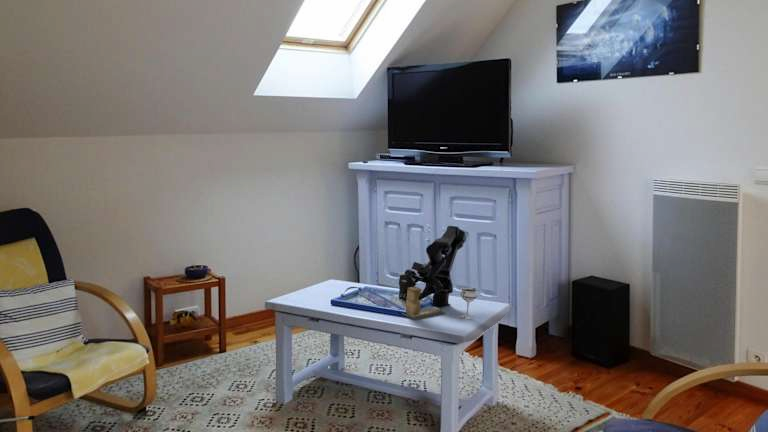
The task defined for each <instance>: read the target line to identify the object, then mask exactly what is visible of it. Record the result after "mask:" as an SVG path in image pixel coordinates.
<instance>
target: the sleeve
mask: <svg viewBox="0 0 768 432" xmlns="http://www.w3.org/2000/svg"><path fill="white" fill-rule="evenodd" d="M421 293H422V288H420V287H418V286H415V287H409V288H408V289H407V299H406V305H405V306H406V307H405V309H406V313H407V314H408V315H410V316H412V315H413V314H418V313H420V307H421V301H422V299H421V300H419V299H418V298H419V296H420V294H421Z"/></svg>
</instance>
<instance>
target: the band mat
mask: <svg viewBox="0 0 768 432" xmlns="http://www.w3.org/2000/svg"><path fill="white" fill-rule="evenodd" d="M425 306H426V305H425ZM401 315H403V316H404V317H406V318H409V319H410V320H414V321H416V320H422V319H426V318H430V317H436V316H440V315H446V312H445V311H444V309H442V308H439V309H438V308H435V307H433V306H431V305H428V306H426V307H424V308H422V309H421V310H420V313H418V314H413V315H412V316H410V315H408V314H404V313H402V314H401Z"/></svg>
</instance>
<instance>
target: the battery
mask: <svg viewBox="0 0 768 432" xmlns="http://www.w3.org/2000/svg"><path fill="white" fill-rule="evenodd" d="M404 273H405V272H402V273H401V274H400V275H399V277H398V278H399V279H398V287H399V291H398V292H399V293H398V298H399V299H402V300H407V293H406V294H404V293H403V292H404V288H405V285H406V281H407V279H406V277H405V274H404ZM414 287H416V285H415V286H414Z"/></svg>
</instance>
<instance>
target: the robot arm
mask: <svg viewBox="0 0 768 432" xmlns="http://www.w3.org/2000/svg"><path fill="white" fill-rule="evenodd" d="M466 241H467V234H466V232H465V231H464V230H462V229H461V228H460V227H459V226H456V225H448V226H447V227H446V230H445V232H443V234H442V236H441V237H440V238H436V239H434V241H432V243H431V244H429V245H427V247H426V249H425V251H426V254H427V257H428V262H427V263H423V264H421V263H419V262H416V261H414V262H413V263H412V266H411V268H410V269H409V268H408V269H406V270H405V271H404V272H403V273H404V274H405V277H406V279H407V281H406V285H405V288H404V292H403V293H404V294H406V293H407V289H408V288H409V287H414V286H415V287H416V286H417V283H418V282H421V283H424V284H425V287H424V288H423V289H422V290H421V294H420V296H419V298H418V299H419V300H421V301H422V300H423V299H425V298H427V297H429V296H431V295H432V302H433V303H432V304H431V305H433V306H436V307H438V308H445V307H450V306H451V303H449V297H450V294H453V291H454V287H453V286H454V285H453V281H452V278H451V271H452V268H453V266H454V265H453V264H454V262H455V259H456V256H457V252H458V250H460V249H461V248H463V246H464V244H465V243H466Z"/></svg>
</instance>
